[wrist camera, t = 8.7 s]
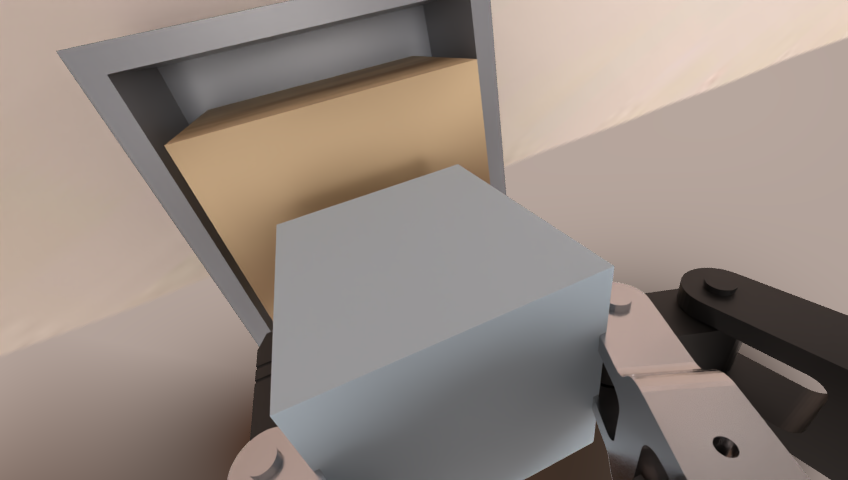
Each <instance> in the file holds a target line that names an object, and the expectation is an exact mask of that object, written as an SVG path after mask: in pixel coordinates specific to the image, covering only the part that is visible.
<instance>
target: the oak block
mask: <svg viewBox="0 0 848 480" xmlns="http://www.w3.org/2000/svg"><path fill="white" fill-rule="evenodd" d="M164 146H165V148H166V149H167V151H168V153H169V154H170V156H171V157H172V159H173V161H174V162H175V164H176V166H177V167H178V169H179V170H180V172H181V174H182V175H183V177H184V178H185V180H186V182H187V183H188V185H189V187H190V188H191V190H192V191H193V193H194V195H195V196H196V198H197V199H198V201H199V203H200V204H201V206H202V208H203V209H204V211H205V212H206V214H207V216H208V217H209V219H210V220H211V222H212V224H213V225H214V227H215V229H216V230H217V232H218V233H219V235H220V237H221V238H222V240H223V241H224V243H225V245H226V246H227V248H228V250H229V251H230V253H231V254H232V256H233V258H234V259H235V261H236V262H237V264H238V266H239V267H240V269H241V271H242V272H243V274H244V275H245V277H246V279H247V280H248V282H249V284H250V285H251V287H252V288H253V290H254V292H255V293H256V295H257V296H258V298H259V300H260V301H261V303H262V305H263V306H264V308H265V309H266V311H267V313H268V314H269V316H270V317H271V319H272V321H273V312H274V283H275V255H276V227H277V224H280V223H283V222H286V221H289V220H292V219H295V218H298V217H301V216H304V215H307V214H310V213H313V212H316V211H319V210H322V209H325V208H328V207H331V206H334V205H337V204H340V203H343V202H346V201H349V200H352V199H355V198H358V197H361V196H364V195H367V194H370V193H373V192H376V191H379V190H382V189H385V188H388V187H391V186H394V185H397V184H400V183H403V182H406V181H409V180H412V179H415V178H418V177H421V176H424V175H427V174H430V173H433V172H436V171H439V170H442V169H445V168H448V167H451V166H454V165H457V164H459V165H460V166H462V167H463V168H465V169H466V170H468V171H469V172H471V173H473V174H474V175H476V176H477V177H479V178H480V179H482V180H483V181H485V182H486V183H488V184H489V185H490V176H489V167H488V158H487V148H486V139H485V129H484V120H483V110H482V101H481V92H480V82H479V73H478V63H477V59H465V58H446V57H426V56H410V57H406V58H403V59H399V60H395V61H391V62H387V63H384V64H380V65H376V66H372V67H368V68H365V69H361V70H357V71H353V72H350V73H346V74H342V75H338V76H334V77H331V78H327V79H323V80H319V81H315V82H312V83H308V84H304V85H300V86H296V87H293V88H289V89H285V90H281V91H278V92H274V93H270V94H266V95H262V96H259V97H255V98H251V99H247V100H243V101H240V102H236V103H232V104H228V105H225V106H221V107H217V108H213V109H209V110H207V111H206V112H204V113H203V114H202V115H201V116H200V117H198V118H197V119H196V120H195V121H194V122H192V123H191V124H190V125H189V126H187V127H186V128H185V129H184V130H183V131H181V132H180V133H179V134H178V135H176V136H175V137H174V138H173V139H172V140H170V141H169V142H168V143H167V144H165V145H164Z"/></svg>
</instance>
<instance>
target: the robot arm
mask: <svg viewBox="0 0 848 480" xmlns="http://www.w3.org/2000/svg"><path fill="white" fill-rule="evenodd" d="M272 340H273V331H272V332H269V333H267V334H266V336H265V337H264V339H263V341H262V343H261V345H260V347H259V349H258V352H257V364H256V367H257V370H256V376H255V381H256V384H255V388H254V400H253V412H252V425H251V436H250V442H249V443H247V444H246V446H245V447H244V448H243V449H242V450H241V452H240V453H239V454H238V455H237V457H236V459H235V461H234V462H233V465H232V467H231V469H230V472H229V475H228V480H328V479H327V478H326V477H325V475H324V474H323V473H322V471H321V470H320V469H318V470H316V471H314V472H313V470H312V469H311V468H310V467H309V465H308V464H307V463H306V462H305V460H304V459H303V458H302V456H301V455H300V454H299V453H298V451H297V450H296V449H295V448H294V446H293V445H292V444H291V442H290V441H289V440H288V439H287V437H286V436H285V435H284V434H283V432H282V431H281V430H280V428H279V427H278V426H277V425H276V423H275V422H274V421H273V420H272V418H271V417H270V396H271V368H272ZM742 342H743V343H745V344H747V345H749V346H751V347H753V348H755V349H757V350H759V351H761V352H763V353H765V354H767V355H769V356H771V357H773V358H775V359H777V360H779V361H781V362H783V363H785V364H787V365H789V366H791V367H793V368H795V369H797V370H799V371H801V372H803V373H805V374H807V375H809V376H811V377H812V378H814V379H815V380H817V381H818V382H819V383H820V384H821V385H822V386H823V387H824V388H825V389H826V391H827V393H828V394H822V393H817V392H814V391H811V390H809V389H807V388H805V387H802V386H801V385H799V384H797V383H795V382H793V381H791V380H789V379H787V378H785V377H784V376H782V375H779V374H778V373H776V372H774V371H772V370H770V369H768V368H766V367H764V366H762V365H761V364H759V363H757V362H755V361H753V360H751V359H749V358H747V357H745V356H743V355H741V354H740V353H738V351H739V349H740V347H741V344H742ZM598 352H599V354H600V356H601V359H602V361H603V364H602V373H601V381H600V389H599V394H598V395H596V396H594V397H593V404H592V410H593V413H594V416H595V419H596V421H597V424H598V426H599V429H600V432H601V434H602V437H603V440H604V442H605V445H606V449H607V452H608V457H609V463H610V470H611V475H612V480H810V478H809V477H808V476H807V475H806V474H805V472H804V471H803V470H802V468H801V467H800V466H799V464H798V463H797V462H796V461H795V459H794V458H793V457H792V455H794V456H795V457H797V458H798V459H800V460H801V461H803V462H804V463H806V464H808V465H809V466H811V467H812V468H814V469H815V470H817V471H818V472H820V473H822V474H823V475H825V476H826V477H828V478H829V479H831V480H848V315H845V314H842V313H839V312H837V311H834V310H832V309H829V308H826V307H824V306H821V305H818V304H816V303H813V302H810V301H808V300H805V299H802V298H800V297H797V296H795V295H792V294H789V293H786V292H784V291H781V290H779V289H776V288H773V287H771V286H768V285H765V284H763V283H760V282H757V281H755V280H752V279H749V278H747V277H744V276H741V275H738V274H736V273H733V272H730V271H726V270H722V269H715V268H699V269H694V270H691V271H689V272H687V273H685V274H684V275H683V277H682V279H681V282H680V287H679V289H674V290H666V291H660V292H653V293H643V292H642V291H640V290H639V289H637V288H635V287H633V286H630V285H627V284H623V283H618V282H612V289H611V298H610V306H609V314H608V323H607V331H606V332H605V333H603V334H601V335H600V337H599V347H598ZM791 454H792V455H791Z"/></svg>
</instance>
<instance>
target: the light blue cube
mask: <svg viewBox="0 0 848 480" xmlns="http://www.w3.org/2000/svg"><path fill="white" fill-rule="evenodd" d="M613 273H614V265H612V264H610V263H609V262H607V261H606V260H604V259H603V258H601V257H600V256H598V255H597V254H595V253H594V252H592V251H591V250H589V249H588V248H586V247H584V246H583V245H581V244H580V243H578V242H577V241H575V240H574V239H572V238H571V237H569V236H568V235H566V234H564V233H563V232H561V231H560V230H558V229H556V228H555V227H554V226H552V225H551V224H549V223H548V222H546V221H545V220H543V219H542V218H540V217H538V216H537V215H535V214H534V213H532V212H531V211H529V210H527V209H526V208H525V207H523V206H522V205H520V204H519V203H517V202H515V201H514V200H512V199H511V198H509V197H508V196H506V195H505V194H503V193H502V192H500V191H499V190H497V189H496V188H494V187H492V186H491V185H489V184H488V183H486V182H485V181H483V180H482V179H480V178H479V177H477V176H476V175H474V174H473V173H471V172H469V171H468V170H466V169H465V168H463V167H462V166H460V165H459V164H457V165H454V166H451V167H448V168H445V169H442V170H439V171H436V172H433V173H430V174H427V175H424V176H421V177H418V178H415V179H412V180H409V181H406V182H403V183H400V184H397V185H394V186H391V187H388V188H385V189H382V190H379V191H376V192H373V193H370V194H367V195H364V196H361V197H358V198H355V199H352V200H349V201H346V202H343V203H340V204H337V205H334V206H331V207H328V208H325V209H322V210H319V211H316V212H313V213H310V214H307V215H304V216H301V217H298V218H295V219H292V220H289V221H286V222H283V223H280V224H277V227H276V255H275V283H274V312H273V340H272V368H271V396H270V417H271V418H272V420H273V421H274V422H275V423H276V425H277V426H278V427H279V428H280V430H281V431H282V432H283V434H284V435H285V436H286V437H287V439H288V440H289V441H290V442H291V444H292V445H293V446H294V448H295V449H296V450H297V451H298V453H299V454H300V455H301V456H302V458H303V459H304V460H305V462H306V463H307V464H308V465H309V467H310V468H311V469H312V470H313V472H314V471H316V470H318V469H320V470H321V471H322V473H323V474H324V475H325V477H326V478H327V479H328V480H524V479H526V478H528V477H530V476H532V475H533V474H535V473H537V472H539V471H541V470H543V469H545V468H546V467H548V466H550V465H552V464H554V463H555V462H557V461H559V460H561V459H563V458H565V457H567V456H568V455H570V454H572V453H574V452H576V451H578V450H579V449H581V448H583V447H585V446H587V445H589V444H590V443H592V442H593V439H594V431H595V422H596V419H595V416H594V413H593V410H592V404H593V397H594V396H596V395H598V394H599V389H600V381H601V373H602V364H603V361H602V359H601V356H600V354H599V352H598V347H599V337H600V335H601V334H603V333H605V332H606V331H607V323H608V314H609V306H610V298H611V289H612V281H613Z"/></svg>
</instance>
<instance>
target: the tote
mask: <svg viewBox="0 0 848 480" xmlns="http://www.w3.org/2000/svg"><path fill="white" fill-rule="evenodd" d="M56 52H57V53H58V55H59V56H60V58H61V59H62V61H63V62H64V64H65V65H66V66H67V68H68V69H69V71H70V72H71V74H72V75H73V77H74V78H75V80H76V81H77V82H78V84H79V85H80V87H81V88H82V90H83V91H84V93H85V94H86V96H87V97H88V98H89V100H90V101H91V103H92V104H93V106H94V107H95V109H96V110H97V112H98V113H99V114H100V116H101V117H102V119H103V120H104V122H105V123H106V125H107V126H108V128H109V129H110V130H111V132H112V133H113V135H114V136H115V138H116V139H117V141H118V142H119V144H120V145H121V146H122V148H123V149H124V151H125V152H126V154H127V155H128V157H129V158H130V160H131V161H132V162H133V164H134V165H135V167H136V168H137V170H138V171H139V173H140V174H141V176H142V177H143V178H144V180H145V181H146V183H147V184H148V186H149V187H150V189H151V190H152V192H153V193H154V194H155V196H156V197H157V199H158V200H159V202H160V203H161V205H162V206H163V208H164V209H165V210H166V212H167V213H168V215H169V216H170V218H171V219H172V221H173V222H174V224H175V225H176V226H177V228H178V229H179V231H180V232H181V234H182V235H183V237H184V238H185V240H186V241H187V242H188V244H189V245H190V247H191V248H192V250H193V251H194V253H195V254H196V256H197V257H198V258H199V260H200V261H201V263H202V264H203V266H204V267H205V269H206V270H207V272H208V273H209V274H210V276H211V277H212V279H213V280H214V282H215V283H216V284H217V286H218V288H219V289H220V290H221V292H222V293H223V295H224V296H225V298H226V299H227V300H228V302H229V303H230V305H231V306H232V308H233V309H234V311H235V312H236V314H237V315H238V317H239V318H240V320H241V321H242V322H243V324H244V325H245V327H246V328H247V330H248V331H249V333H250V334H251V335H252V337H253V338H254V340H255V341H256V343H257V344H258V346H259V347H260V345H261V343H262V341H263V339H264V337H265V336H266V334H267V333H269V332H272V331H273V321H272V319H271V317H270V316H269V314H268V313H267V311H266V309H265V308H264V306H263V305H262V303H261V301H260V300H259V298H258V296H257V295H256V293H255V292H254V290H253V288H252V287H251V285H250V284H249V282H248V280H247V279H246V277H245V275H244V274H243V272H242V271H241V269H240V267H239V266H238V264H237V262H236V261H235V259H234V258H233V256H232V254H231V253H230V251H229V250H228V248H227V246H226V245H225V243H224V241H223V240H222V238H221V237H220V235H219V233H218V232H217V230H216V229H215V227H214V225H213V224H212V222H211V220H210V219H209V217H208V216H207V214H206V212H205V211H204V209H203V208H202V206H201V204H200V203H199V201H198V199H197V198H196V196H195V195H194V193H193V191H192V190H191V188H190V187H189V185H188V183H187V182H186V180H185V178H184V177H183V175H182V174H181V172H180V170H179V169H178V167H177V166H176V164H175V162H174V161H173V159H172V157H171V156H170V154H169V153H168V151H167V149H166V148H165V146H164V145H165V144H167V143H168V142H169V141H170V140H172V139H173V138H174V137H175V136H176V135H178V134H179V133H180V132H181V131H183V130H184V129H185V128H186V127H187V126H189V125H190V124H191V123H192V122H194V121H195V120H196V119H197V118H198V117H200V116H201V115H202V114H203V113H204V112H206V111H207V110H209V109H213V108H217V107H221V106H225V105H228V104H232V103H236V102H240V101H243V100H247V99H251V98H255V97H259V96H262V95H266V94H270V93H274V92H278V91H281V90H285V89H289V88H293V87H296V86H300V85H304V84H308V83H312V82H315V81H319V80H323V79H327V78H331V77H334V76H338V75H342V74H346V73H350V72H353V71H357V70H361V69H365V68H368V67H372V66H376V65H380V64H384V63H387V62H391V61H395V60H399V59H403V58H406V57H410V56H426V57H446V58H465V59H477V63H478V73H479V82H480V92H481V101H482V110H483V120H484V129H485V139H486V148H487V158H488V167H489V176H490V185H491V186H492V187H494V188H496V189H497V190H499V191H500V192H502V193H503V194H505V195H506V187H505V175H504V163H503V150H502V138H501V125H500V113H499V101H498V88H497V76H496V64H495V51H494V39H493V27H492V14H491V2H490V0H290V1H286V2H281V3H276V4H272V5H267V6H262V7H258V8H253V9H249V10H244V11H239V12H235V13H230V14H225V15H221V16H216V17H212V18H207V19H202V20H198V21H193V22H188V23H184V24H179V25H175V26H170V27H165V28H161V29H156V30H151V31H147V32H142V33H137V34H133V35H128V36H124V37H119V38H114V39H110V40H105V41H100V42H96V43H91V44H87V45H82V46H77V47H73V48H68V49H63V50H59V51H56Z"/></svg>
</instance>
